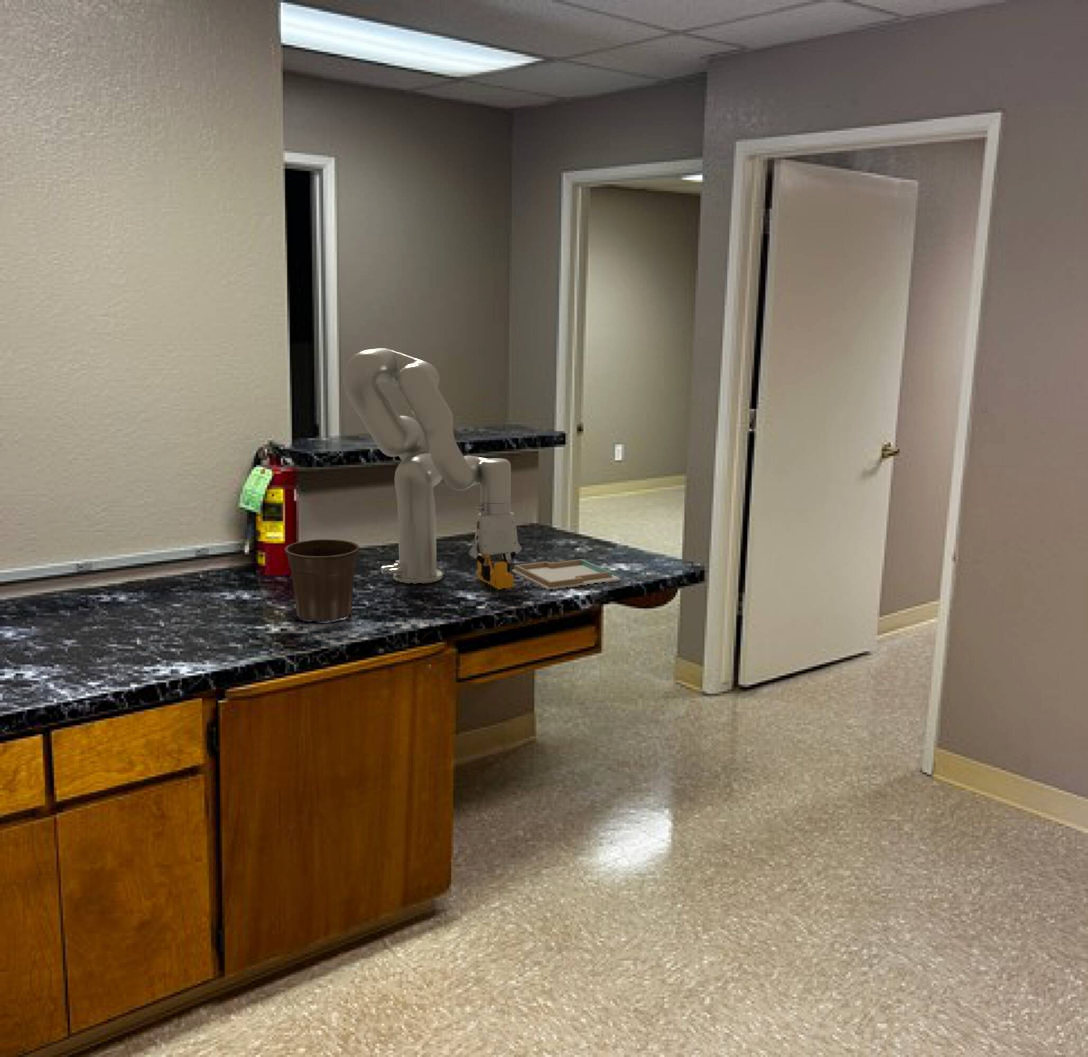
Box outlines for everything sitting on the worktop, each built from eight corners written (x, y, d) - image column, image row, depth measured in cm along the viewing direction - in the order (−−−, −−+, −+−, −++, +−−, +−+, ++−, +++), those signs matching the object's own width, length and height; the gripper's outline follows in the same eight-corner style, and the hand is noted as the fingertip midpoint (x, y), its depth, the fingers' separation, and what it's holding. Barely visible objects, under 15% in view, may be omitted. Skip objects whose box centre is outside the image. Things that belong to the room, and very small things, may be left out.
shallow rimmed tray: (547, 590, 266) (547, 583, 266) (512, 571, 284) (512, 565, 283) (620, 580, 276) (620, 573, 276) (581, 563, 293) (581, 556, 293)
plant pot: (375, 616, 244) (373, 547, 240) (314, 632, 232) (311, 559, 229) (334, 602, 255) (331, 535, 251) (274, 616, 244) (270, 546, 240)
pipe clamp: (513, 587, 269) (513, 562, 267) (497, 589, 267) (497, 564, 265) (493, 576, 279) (493, 552, 278) (477, 578, 277) (477, 553, 276)
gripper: (470, 513, 262) (471, 586, 266) (532, 508, 269) (531, 578, 273) (458, 508, 268) (459, 579, 272) (519, 502, 276) (518, 571, 280)
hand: (495, 578), depth 273 cm, fingers closed on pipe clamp, 4 cm apart
